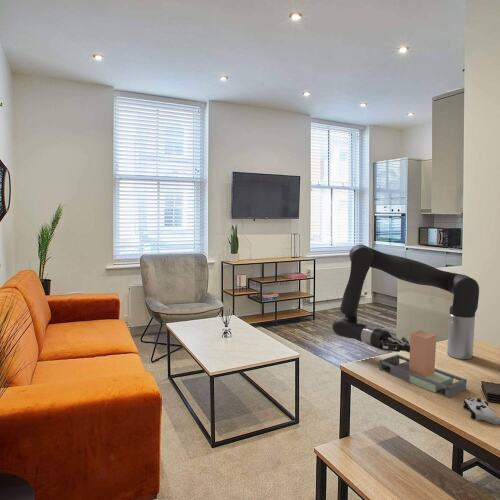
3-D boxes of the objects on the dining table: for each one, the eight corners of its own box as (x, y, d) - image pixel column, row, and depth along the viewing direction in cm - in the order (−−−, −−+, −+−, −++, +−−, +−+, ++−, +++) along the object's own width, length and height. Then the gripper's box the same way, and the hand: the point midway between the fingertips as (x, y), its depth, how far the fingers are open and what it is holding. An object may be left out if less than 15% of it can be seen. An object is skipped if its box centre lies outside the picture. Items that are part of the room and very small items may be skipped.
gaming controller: (505, 423, 112) (487, 405, 112) (487, 436, 113) (469, 418, 114) (488, 403, 123) (472, 386, 123) (472, 415, 124) (456, 399, 125)
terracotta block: (418, 367, 146) (420, 330, 144) (434, 373, 141) (436, 335, 139) (409, 371, 142) (410, 333, 141) (424, 377, 137) (426, 338, 136)
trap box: (397, 362, 156) (397, 354, 156) (466, 388, 134) (466, 379, 134) (378, 369, 150) (379, 360, 150) (448, 397, 128) (448, 388, 128)
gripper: (364, 331, 153) (404, 344, 139) (386, 325, 161) (426, 337, 146) (364, 350, 154) (403, 364, 140) (386, 343, 162) (425, 356, 147)
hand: (414, 350), depth 143 cm, fingers closed
